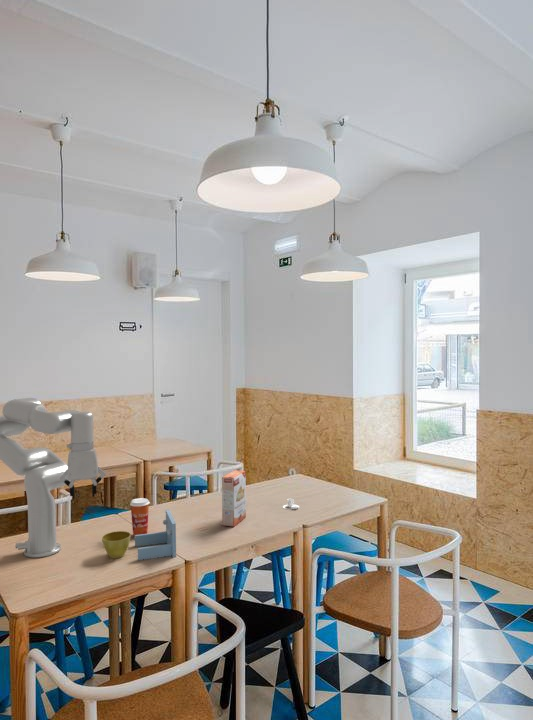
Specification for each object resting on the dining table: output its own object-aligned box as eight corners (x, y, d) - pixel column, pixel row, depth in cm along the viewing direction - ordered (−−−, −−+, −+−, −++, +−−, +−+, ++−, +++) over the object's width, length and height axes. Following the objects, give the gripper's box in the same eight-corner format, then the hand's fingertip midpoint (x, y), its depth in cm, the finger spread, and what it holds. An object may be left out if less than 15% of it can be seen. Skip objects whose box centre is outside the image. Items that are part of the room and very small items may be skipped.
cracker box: (235, 527, 214) (234, 477, 214) (221, 526, 216) (220, 476, 216) (247, 517, 228) (246, 470, 227) (234, 516, 229) (233, 469, 229)
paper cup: (130, 539, 203) (129, 503, 202) (130, 532, 210) (129, 498, 210) (150, 536, 205) (150, 502, 204) (149, 530, 212) (149, 497, 212)
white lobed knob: (299, 510, 237) (299, 502, 237) (282, 511, 237) (282, 502, 237) (299, 505, 246) (298, 496, 246) (282, 505, 246) (282, 497, 246)
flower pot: (108, 563, 179) (108, 543, 179) (97, 555, 187) (97, 535, 187) (135, 555, 185) (135, 536, 185) (124, 548, 193) (123, 529, 193)
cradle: (138, 561, 180) (137, 527, 180) (134, 544, 197) (134, 513, 197) (176, 556, 184) (175, 523, 184) (169, 539, 201) (168, 509, 201)
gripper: (55, 450, 176) (56, 502, 176) (108, 446, 181) (109, 497, 182) (57, 446, 183) (58, 496, 183) (107, 443, 189) (108, 492, 189)
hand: (83, 496), depth 182 cm, fingers open, 6 cm apart
